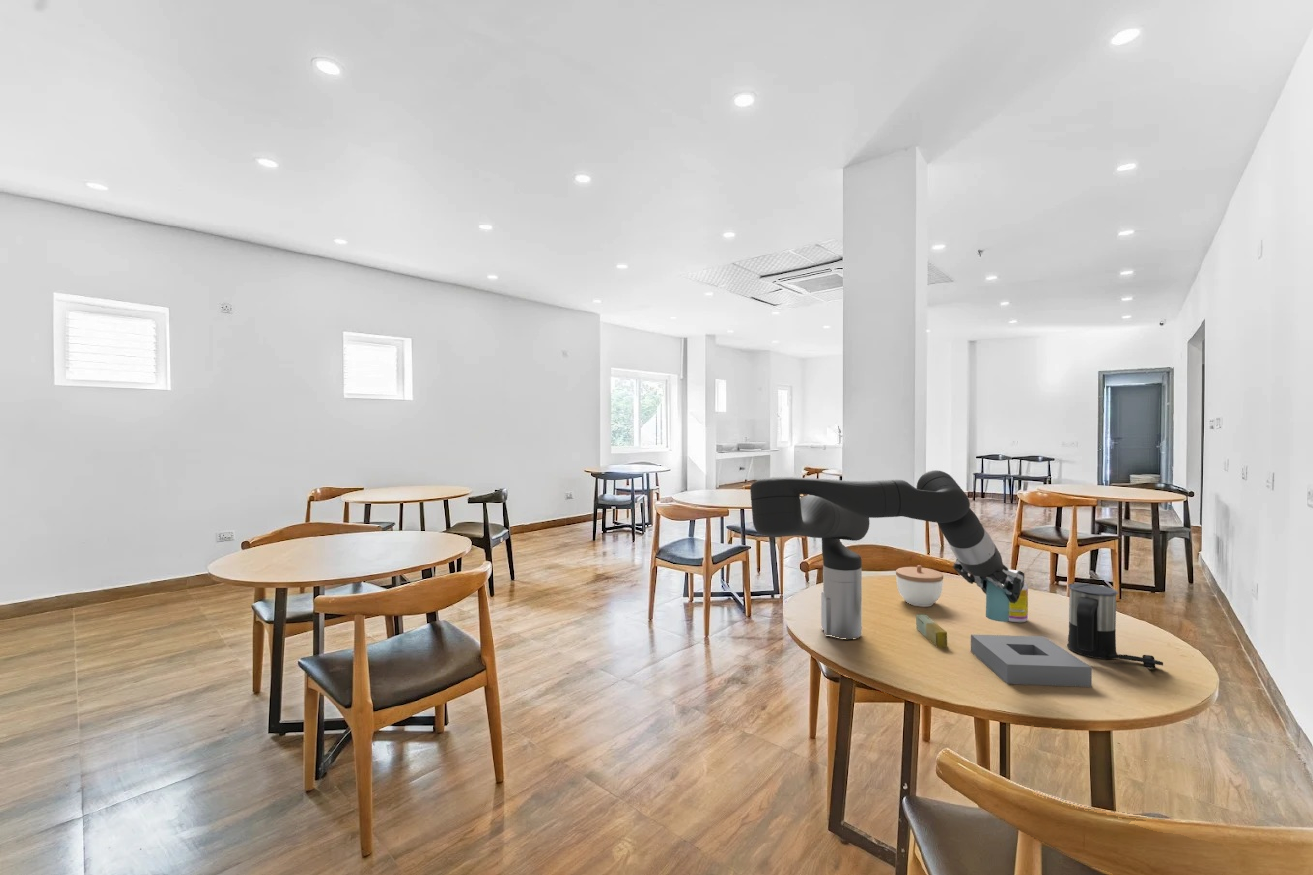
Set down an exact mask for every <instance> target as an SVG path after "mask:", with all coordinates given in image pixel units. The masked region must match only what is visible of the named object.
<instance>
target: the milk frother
mask: <svg viewBox="0 0 1313 875" xmlns="http://www.w3.org/2000/svg"><path fill="white" fill-rule="evenodd" d="M1067 587H1068V588H1069V603H1068V604H1069V607H1068V621H1069V622H1068V635H1067V641H1068V642H1067V644H1066V647H1067V648H1068V649H1069V650H1070V651H1071V652H1074V653H1075V654H1079V655H1081V656H1085V657H1088V658H1095V659H1101V660H1112V659H1121V660H1127V661H1132V662H1140V663H1142V664H1143V667H1144V668H1147V669H1156V665H1158V666H1164V662H1163V661H1160V660H1157V659H1155V657H1154V655H1149V654H1143V655H1142V657H1141V656H1134V655H1129V654H1118V653H1117V644H1116V642H1117V641H1116V640H1117V639H1116V637H1117V636H1116V634H1117V633H1116V630H1117V629H1116V628H1117V627H1116V626H1117V625H1116V623H1117V622H1116V621H1117V595H1118V594H1119V592H1118V590H1116V589H1113V588H1111V587H1108V586H1105V585H1104V586H1103V585H1097V584H1092V583H1086V582H1075V583H1073V582H1072V583H1069V584H1067Z"/></svg>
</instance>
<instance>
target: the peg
mask: <svg viewBox="0 0 1313 875" xmlns="http://www.w3.org/2000/svg"><path fill="white" fill-rule="evenodd" d="M1007 585H1008V584H1007ZM985 597H986V598H985V618H987V619H988V620H991V621H996V622H1001V623H1004V622H1010V621H1009V599H1008V598H1007V596H1006V594H1005V592H1004V591H1003V590H1002V589H998V588H997V587H996V586H995V585H994V584H993V583H992V582H991V581H987V587H986V594H985Z"/></svg>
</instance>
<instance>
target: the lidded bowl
mask: <svg viewBox="0 0 1313 875" xmlns="http://www.w3.org/2000/svg"><path fill="white" fill-rule="evenodd" d="M895 575H896V579H895V580H896V587H897V590H898V593H899V594H900V595H899V596H901V597H902V598H903V599H904V601H905V603H906V602H907V603H906V604H908V603H909V604H908V605H910V604H911V606H914V607H921V608H923V607H924V608H925V607H926V608H927V607H932V606H933V605H934V603H936V602H937V601H938V600H939V598H940V597H941V594H942V591H943V582H944V580H943V579H944V574H943V573H942V572H941V571H938V570H936V569H932V568H929V567H928V568H926V567H922V565H920V564H919V565H916V566H904V567H903V566H902V567H899V568H897V569H896V570H895Z"/></svg>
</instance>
